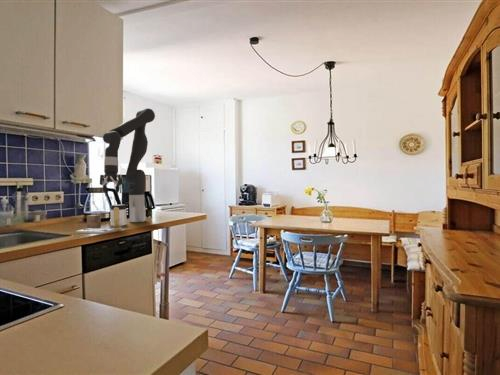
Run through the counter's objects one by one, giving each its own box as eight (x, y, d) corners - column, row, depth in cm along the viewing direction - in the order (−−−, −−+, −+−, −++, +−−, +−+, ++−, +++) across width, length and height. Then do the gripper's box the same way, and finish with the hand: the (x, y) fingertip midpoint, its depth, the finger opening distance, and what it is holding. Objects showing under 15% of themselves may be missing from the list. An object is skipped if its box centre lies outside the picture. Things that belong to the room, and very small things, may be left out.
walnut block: (93, 226, 185) (93, 214, 184) (100, 226, 183) (100, 214, 183) (87, 228, 180) (86, 215, 180) (94, 228, 178) (93, 215, 178)
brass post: (116, 228, 175) (115, 206, 175) (123, 228, 174) (122, 206, 173) (110, 230, 171) (110, 207, 170) (117, 230, 169) (116, 207, 169)
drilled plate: (88, 230, 172) (88, 228, 172) (114, 231, 167) (114, 229, 167) (76, 232, 164) (76, 230, 164) (103, 233, 159) (103, 231, 159)
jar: (112, 226, 184) (111, 205, 183) (109, 224, 191) (108, 204, 190) (128, 225, 189) (127, 204, 188) (125, 223, 196) (124, 204, 195)
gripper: (125, 165, 191) (125, 192, 190) (105, 165, 194) (105, 192, 194) (117, 163, 183) (116, 192, 183) (96, 164, 187) (96, 192, 187)
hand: (110, 192), depth 188 cm, fingers open, 8 cm apart
